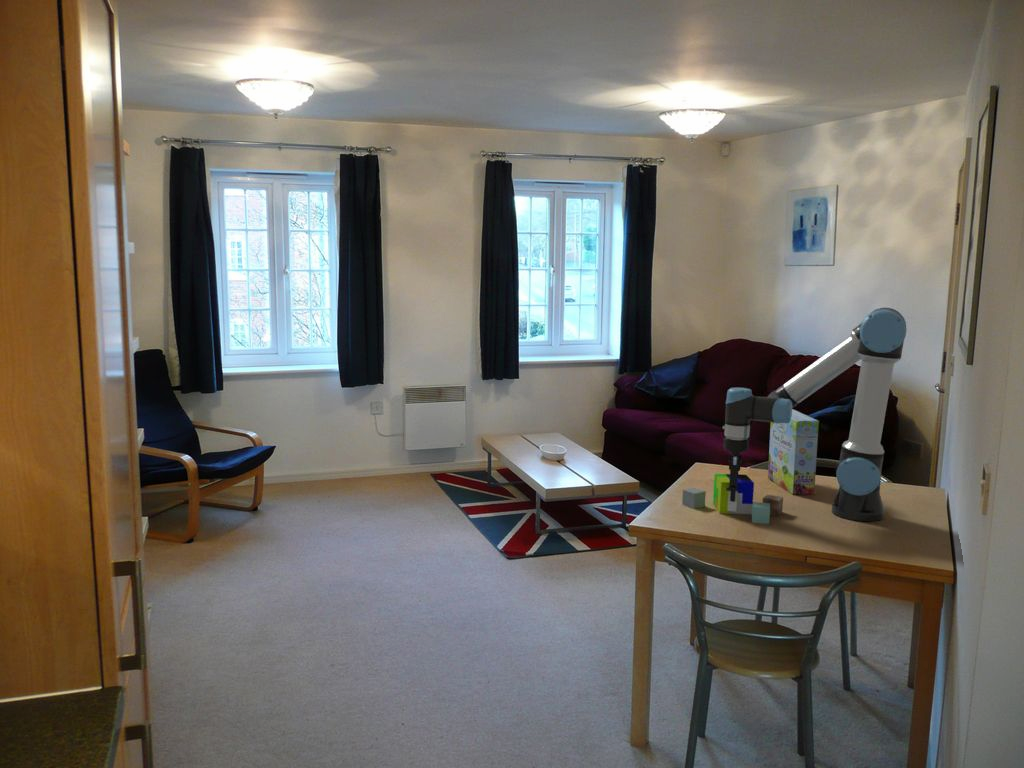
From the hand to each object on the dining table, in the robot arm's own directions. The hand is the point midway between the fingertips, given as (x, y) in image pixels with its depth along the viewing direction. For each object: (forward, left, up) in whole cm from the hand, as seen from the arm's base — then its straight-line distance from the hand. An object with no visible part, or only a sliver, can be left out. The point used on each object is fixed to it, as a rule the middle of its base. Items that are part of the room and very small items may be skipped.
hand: (732, 505), depth 268 cm
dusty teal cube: (-12, +4, -1) cm, 13 cm away
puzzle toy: (0, 0, -1) cm, 1 cm away
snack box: (+1, -39, -1) cm, 39 cm away
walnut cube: (-11, -6, -1) cm, 12 cm away
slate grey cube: (+10, +6, -1) cm, 12 cm away
